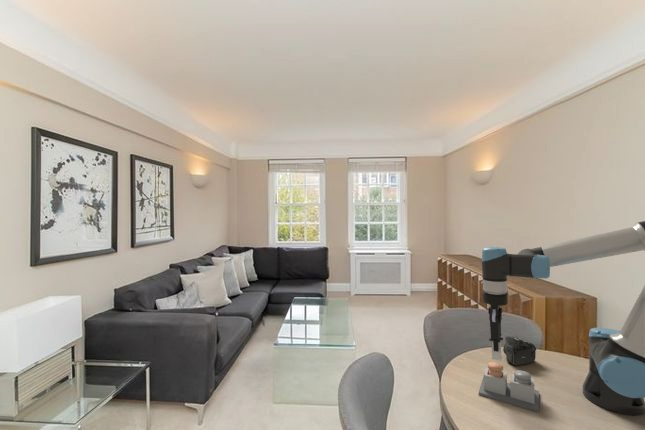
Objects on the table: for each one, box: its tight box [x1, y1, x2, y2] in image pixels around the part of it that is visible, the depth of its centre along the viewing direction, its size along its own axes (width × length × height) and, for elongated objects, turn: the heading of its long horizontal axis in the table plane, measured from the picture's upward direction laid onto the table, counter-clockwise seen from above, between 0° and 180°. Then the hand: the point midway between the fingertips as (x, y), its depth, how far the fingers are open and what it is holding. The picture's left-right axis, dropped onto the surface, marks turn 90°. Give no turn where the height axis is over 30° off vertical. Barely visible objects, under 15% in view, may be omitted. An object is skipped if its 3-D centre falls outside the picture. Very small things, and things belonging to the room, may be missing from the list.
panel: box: [478, 366, 540, 413], centre depth 107 cm, size 17×12×6 cm
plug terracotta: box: [487, 361, 504, 378], centre depth 109 cm, size 5×5×6 cm
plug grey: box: [513, 369, 532, 385], centre depth 105 cm, size 5×5×6 cm
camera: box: [502, 335, 537, 366], centre depth 130 cm, size 13×10×10 cm
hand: (496, 359), depth 109 cm, fingers closed
